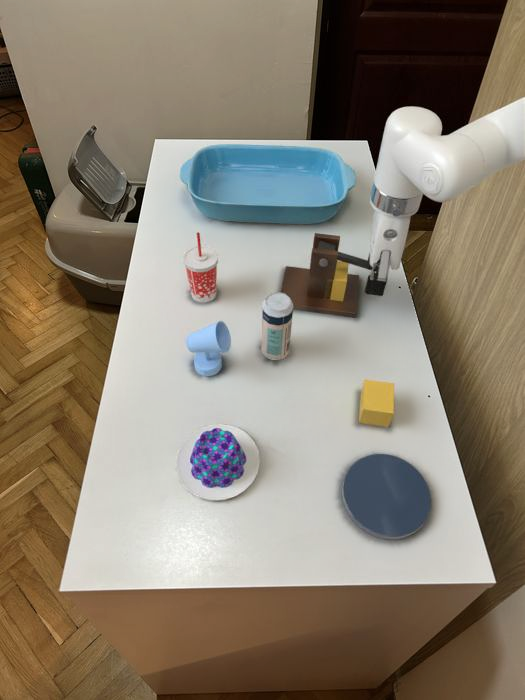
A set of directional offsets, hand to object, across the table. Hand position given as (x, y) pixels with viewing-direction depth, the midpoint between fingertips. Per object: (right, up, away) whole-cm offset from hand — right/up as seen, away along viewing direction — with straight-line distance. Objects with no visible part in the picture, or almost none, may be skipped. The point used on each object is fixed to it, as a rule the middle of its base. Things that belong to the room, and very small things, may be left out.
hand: (374, 280), depth 94 cm
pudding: (-26, -29, -17) cm, 42 cm away
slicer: (-9, -2, +5) cm, 11 cm away
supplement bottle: (-18, -13, -4) cm, 22 cm away
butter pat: (-2, -22, -11) cm, 25 cm away
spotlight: (-28, -15, -6) cm, 33 cm away
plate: (-3, -33, -20) cm, 38 cm away
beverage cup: (-31, -2, +4) cm, 31 cm away
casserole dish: (-19, +20, +22) cm, 36 cm away
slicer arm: (-5, +3, -2) cm, 6 cm away
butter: (-7, -1, +3) cm, 8 cm away
